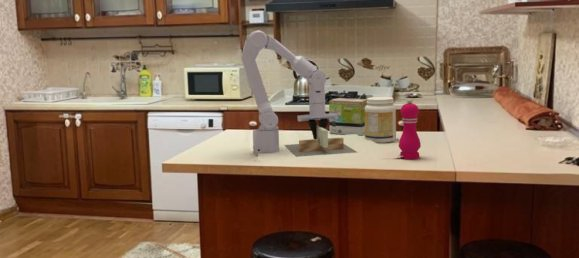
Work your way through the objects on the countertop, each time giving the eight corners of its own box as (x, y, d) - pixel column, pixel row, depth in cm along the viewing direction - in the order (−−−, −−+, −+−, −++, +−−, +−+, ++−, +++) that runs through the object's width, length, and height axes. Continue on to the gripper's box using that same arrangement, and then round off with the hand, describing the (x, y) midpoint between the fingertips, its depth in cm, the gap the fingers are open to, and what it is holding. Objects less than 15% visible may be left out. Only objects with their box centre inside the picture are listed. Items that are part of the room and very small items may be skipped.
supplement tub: (373, 137, 233) (373, 95, 231) (401, 139, 227) (401, 96, 224) (359, 142, 223) (359, 99, 221) (388, 144, 217) (387, 100, 214)
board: (296, 159, 195) (296, 156, 194) (283, 147, 217) (283, 144, 217) (357, 155, 199) (357, 152, 198) (339, 143, 221) (339, 141, 221)
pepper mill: (405, 154, 197) (405, 97, 194) (424, 156, 192) (424, 97, 189) (394, 158, 191) (394, 99, 188) (414, 160, 187) (414, 100, 183)
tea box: (328, 134, 244) (328, 100, 242) (338, 130, 253) (337, 97, 251) (361, 136, 237) (361, 100, 235) (370, 132, 246) (369, 98, 244)
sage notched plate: (328, 147, 198) (327, 130, 197) (323, 147, 198) (323, 130, 197) (318, 141, 212) (318, 125, 211) (314, 141, 211) (313, 125, 210)
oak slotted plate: (300, 152, 202) (299, 140, 201) (299, 151, 203) (298, 140, 203) (343, 149, 205) (343, 138, 204) (342, 148, 206) (342, 137, 206)
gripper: (333, 100, 212) (334, 136, 214) (295, 102, 209) (296, 139, 211) (338, 102, 205) (339, 139, 207) (299, 104, 202) (300, 142, 204)
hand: (318, 139), depth 209 cm, fingers closed on sage notched plate, 2 cm apart
